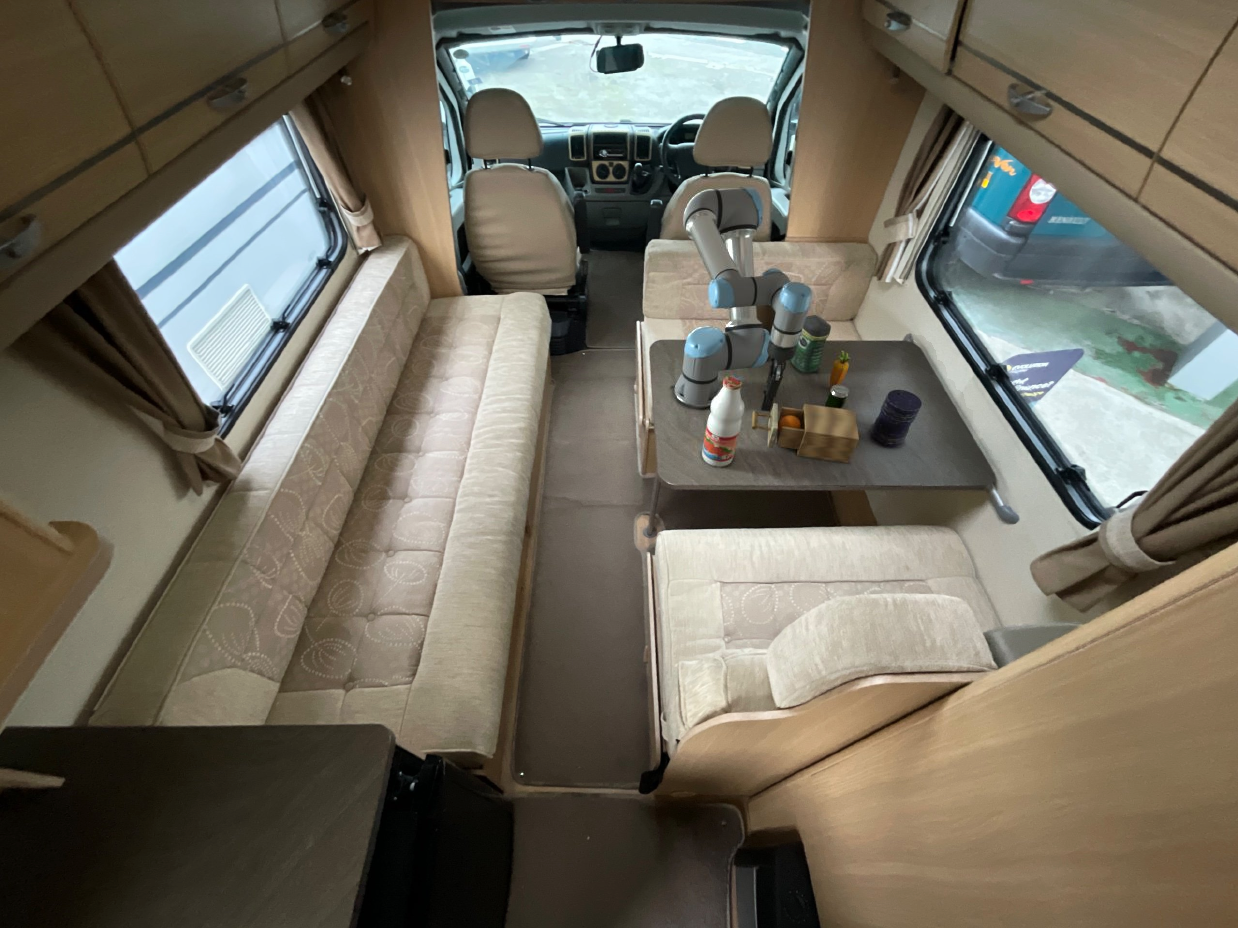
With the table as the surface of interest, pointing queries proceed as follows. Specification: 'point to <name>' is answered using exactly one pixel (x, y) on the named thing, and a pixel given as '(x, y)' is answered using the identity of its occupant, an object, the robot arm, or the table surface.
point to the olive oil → (766, 316)
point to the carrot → (839, 370)
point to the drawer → (787, 434)
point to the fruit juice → (724, 424)
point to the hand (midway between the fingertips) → (765, 409)
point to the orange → (789, 422)
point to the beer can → (837, 397)
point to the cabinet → (828, 433)
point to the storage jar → (895, 418)
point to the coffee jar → (811, 344)
